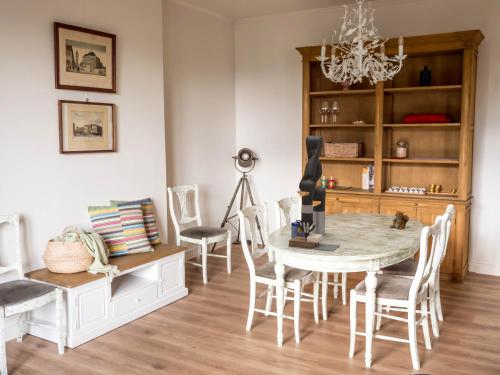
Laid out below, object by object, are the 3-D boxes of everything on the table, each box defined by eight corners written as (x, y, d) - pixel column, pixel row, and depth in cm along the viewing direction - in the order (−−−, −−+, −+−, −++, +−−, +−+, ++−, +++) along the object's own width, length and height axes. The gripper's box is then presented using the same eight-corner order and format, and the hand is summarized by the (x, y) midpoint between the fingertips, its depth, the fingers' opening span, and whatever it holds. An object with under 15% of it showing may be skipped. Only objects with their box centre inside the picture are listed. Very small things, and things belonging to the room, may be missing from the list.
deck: (296, 242, 329) (296, 236, 329) (319, 244, 322) (319, 238, 322) (288, 246, 317) (288, 240, 317) (312, 249, 310) (312, 242, 309)
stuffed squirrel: (388, 228, 373) (388, 210, 371) (400, 225, 381) (400, 208, 379) (399, 230, 365) (399, 212, 363) (411, 227, 373) (411, 210, 371)
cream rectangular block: (312, 238, 322) (312, 233, 322) (322, 239, 319) (322, 234, 318) (307, 241, 313) (307, 236, 313) (317, 242, 310) (317, 238, 310)
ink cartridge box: (290, 240, 335) (290, 219, 333) (295, 238, 339) (295, 218, 337) (303, 242, 329) (303, 220, 327) (307, 240, 333) (307, 219, 331)
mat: (320, 244, 323) (320, 243, 323) (339, 246, 317) (339, 245, 317) (312, 249, 309) (312, 248, 309) (333, 251, 304) (333, 250, 304)
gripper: (318, 211, 316) (318, 237, 319) (299, 210, 322) (299, 236, 325) (315, 213, 310) (314, 240, 312) (295, 211, 316) (295, 238, 318)
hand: (306, 238), depth 318 cm, fingers closed
